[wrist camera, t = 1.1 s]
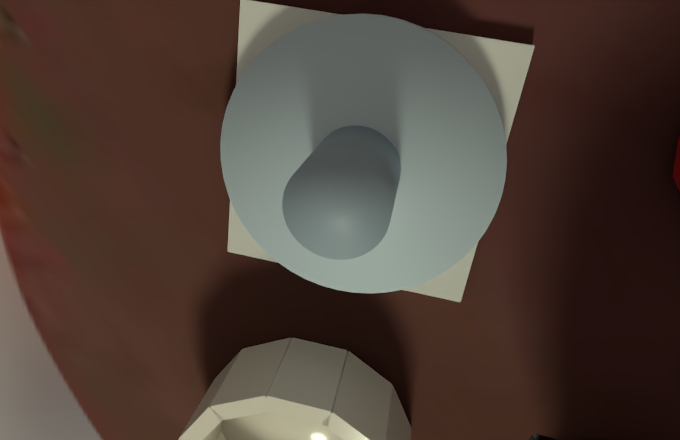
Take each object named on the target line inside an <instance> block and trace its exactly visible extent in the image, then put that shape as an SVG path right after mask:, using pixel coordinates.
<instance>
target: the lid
mask: <svg viewBox="0 0 680 440" xmlns="http://www.w3.org/2000/svg"><path fill="white" fill-rule="evenodd" d="M220 147H221V165H222V171H223V178H224V181H225V185H226V188H227V192H228V195H229V198H230V200H231V202H232V205H233V207H234V210H235V211H236V213H237V215H238V217H239V218H240V220H241V222H242V224H243V225H244V227H245V228H246V230H247V231H248V232H249V234H250V235H251V236H252V238H253V239H254V240H255V241H256V242H257V243H258V244H259V246H260V247H261V248H262V249H263V250H264V251H265V252H266V253H267V254H269V255H270V256H271V257H272V258H273V259H274V260H276V261H277V262H278V263H279V264H281V265H282V266H284V267H285V268H287V269H288V270H290V271H291V272H293V273H295V274H297V275H299V276H300V277H302V278H304V279H306V280H309V281H311V282H314V283H316V284H319V285H321V286H325V287H328V288H332V289H335V290H340V291H346V292H352V293H385V292H392V291H397V290H403V289H406V288H409V287H413V286H416V285H419V284H421V283H424V282H426V281H428V280H430V279H433V278H435V277H437V276H438V275H440V274H442V273H443V272H445V271H446V270H448V269H450V268H451V267H452V266H454V265H455V264H456V263H457V262H459V261H460V260H461V259H462V258H464V256H465V255H466V254H467V253H468V252H469V251H470V250H471V249H472V248H473V247H474V246H475V245H476V244H477V242H478V241H479V240H480V238H481V237H482V236H483V234H484V233H485V232H486V230H487V228H488V226H489V225H490V223H491V221H492V219H493V217H494V215H495V213H496V210H497V208H498V205H499V202H500V200H501V197H502V192H503V188H504V183H505V178H506V166H507V153H506V139H505V135H504V130H503V125H502V121H501V118H500V115H499V112H498V110H497V107H496V104H495V102H494V100H493V98H492V96H491V94H490V92H489V90H488V88H487V87H486V85H485V83H484V81H483V80H482V78H481V77H480V76H479V74H478V73H477V72H476V70H475V69H474V67H473V66H472V65H471V64H470V63H469V62H468V61H467V59H466V58H465V57H464V56H463V55H462V54H461V53H460V52H459V51H458V50H457V49H455V48H454V47H453V46H451V45H450V44H449V43H448V42H446V41H445V40H444V39H442V38H441V37H439V36H438V35H436V34H434V33H432V32H430V31H429V30H427V29H425V28H423V27H421V26H418V25H416V24H413V23H411V22H408V21H406V20H402V19H398V18H394V17H390V16H385V15H376V14H364V13H363V14H346V15H337V16H332V17H327V18H322V19H318V20H315V21H313V22H310V23H307V24H304V25H301V26H299V27H297V28H295V29H294V30H292V31H290V32H288V33H286V34H284V35H282V36H281V37H280V38H278V39H277V40H276V41H274V42H273V43H272V44H270V45H269V46H267V47H266V48H265V49H264V50H263V51H262V52H261V53H260V54H259V55H258V56H257V57H256V58H255V59H254V60H253V61H252V63H251V64H250V65H249V67H248V68H247V69H246V71H245V72H244V73H243V75H242V76H241V78H240V80H239V81H238V83H237V85H236V87H235V89H234V90H233V93H232V95H231V98H230V100H229V103H228V105H227V108H226V112H225V116H224V120H223V124H222V132H221V142H220Z"/></svg>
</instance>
